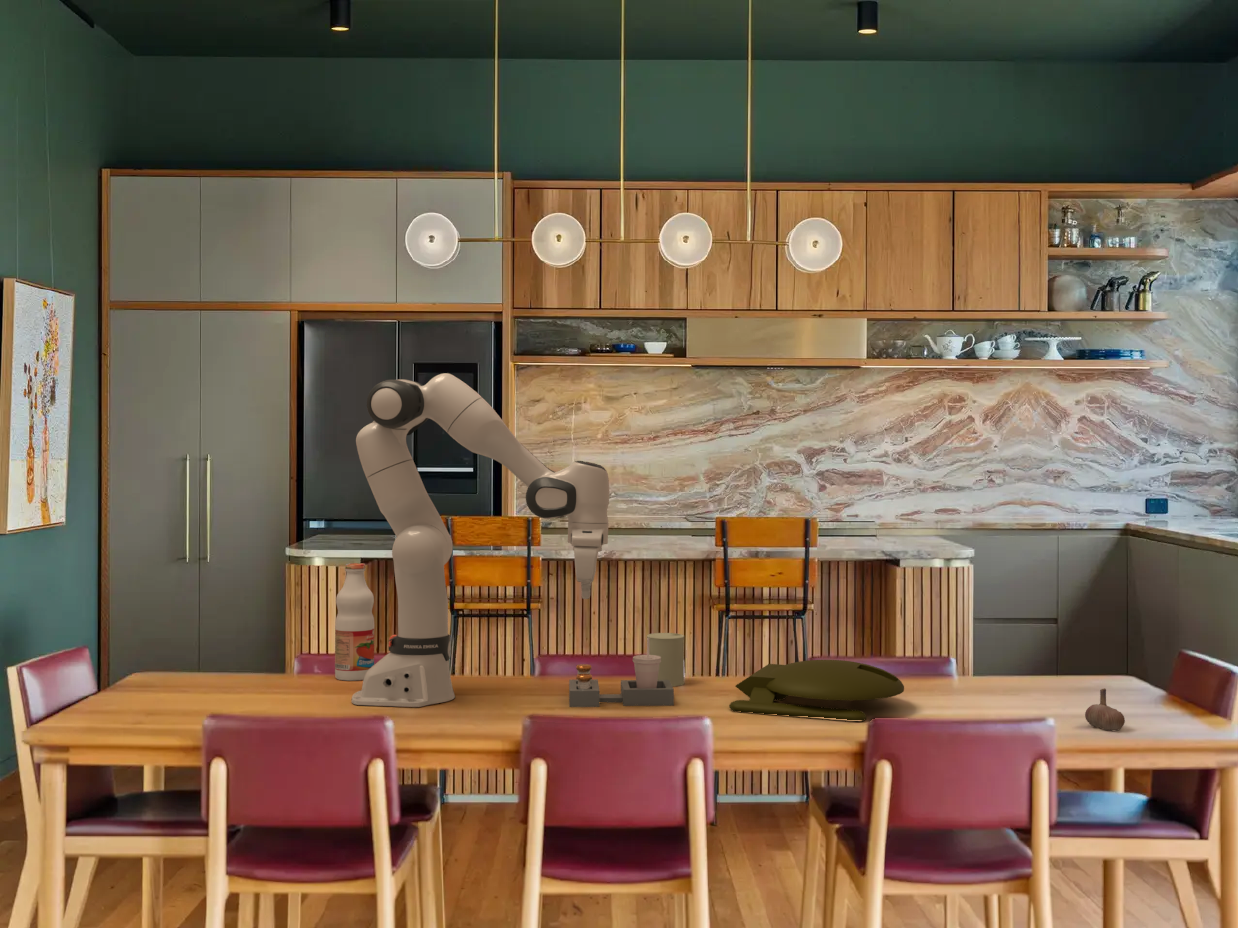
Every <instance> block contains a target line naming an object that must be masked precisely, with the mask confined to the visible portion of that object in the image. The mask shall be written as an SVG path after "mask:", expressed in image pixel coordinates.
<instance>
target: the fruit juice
mask: <svg viewBox="0 0 1238 928" xmlns="http://www.w3.org/2000/svg"><path fill="white" fill-rule="evenodd" d="M344 569H345V570H344V571H345V573H346V576H345V580H344V583H343V586H342V587H341V589H340V590H339V592H338V593H337V594H336V598H335V603H336V604H335V605H336V608H337V614H336V617H335V625H334V627H335V628H334V629H335V634H334V635H335V636H334V640H335V641H334V645H335V646H334V677H335V679H337V680H339V681H348V682H350V681H351V682H353V681H363V680H364V676H365V674H366V672H367V671H368V670H369V669H370V668H371V667H372V666H373V665H374V664H375V616H374V614H373V607H374V603H375V597H374V596H375V595H374V593H373V592H372V590H371V589H370V587H368V584H367V582H366V577H365V571H366V569H367V568H366V563H359V562H358V563H345V565H344Z"/></svg>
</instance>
